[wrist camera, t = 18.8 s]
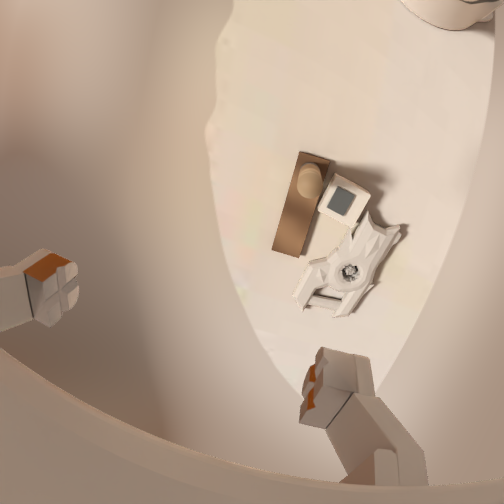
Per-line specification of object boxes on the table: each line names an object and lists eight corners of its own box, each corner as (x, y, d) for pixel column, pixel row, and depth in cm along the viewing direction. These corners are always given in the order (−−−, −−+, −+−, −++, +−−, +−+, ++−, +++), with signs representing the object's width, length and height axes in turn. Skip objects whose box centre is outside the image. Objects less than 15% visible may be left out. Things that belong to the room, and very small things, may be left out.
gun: (343, 202, 37) (409, 234, 37) (341, 194, 40) (403, 224, 40) (286, 310, 46) (345, 333, 46) (288, 297, 49) (344, 319, 49)
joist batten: (299, 151, 39) (299, 152, 38) (329, 160, 39) (329, 161, 38) (272, 247, 45) (271, 249, 44) (299, 255, 45) (298, 258, 44)
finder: (334, 172, 39) (336, 176, 36) (367, 190, 39) (371, 196, 36) (317, 204, 41) (318, 211, 38) (349, 221, 42) (352, 229, 38)
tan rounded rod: (302, 159, 38) (301, 169, 30) (322, 165, 38) (326, 177, 30) (297, 178, 39) (293, 194, 31) (316, 184, 39) (318, 201, 31)
